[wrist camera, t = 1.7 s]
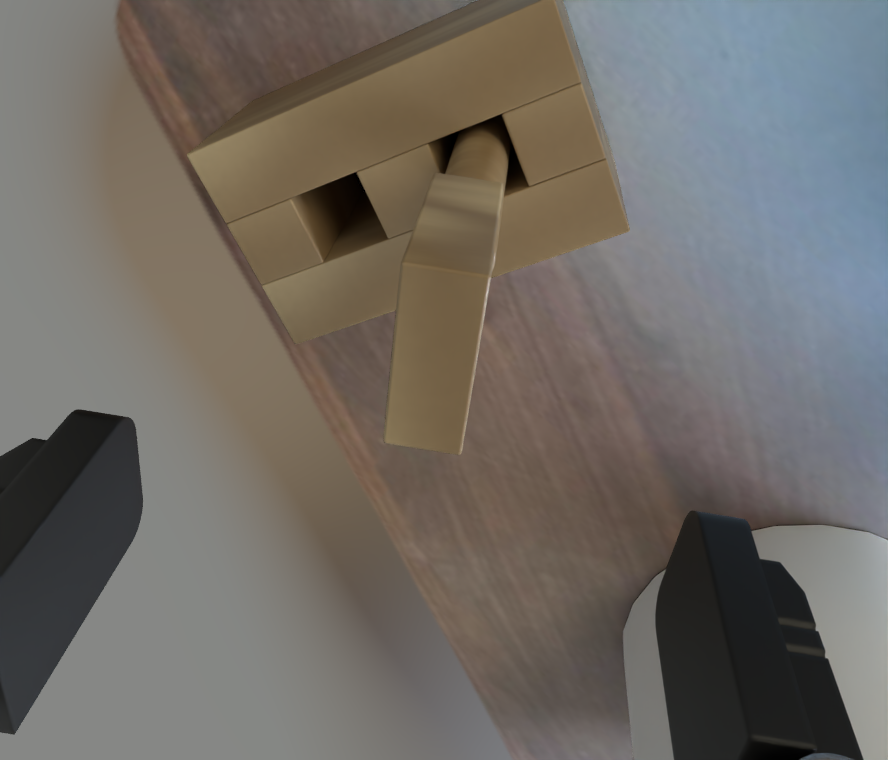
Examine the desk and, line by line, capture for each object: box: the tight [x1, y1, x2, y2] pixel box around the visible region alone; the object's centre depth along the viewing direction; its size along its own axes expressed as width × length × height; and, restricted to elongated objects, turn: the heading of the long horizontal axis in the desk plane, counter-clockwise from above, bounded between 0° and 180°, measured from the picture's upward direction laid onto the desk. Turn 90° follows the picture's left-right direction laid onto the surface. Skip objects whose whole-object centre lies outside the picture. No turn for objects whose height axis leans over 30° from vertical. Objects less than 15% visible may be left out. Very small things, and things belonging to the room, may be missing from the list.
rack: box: [187, 0, 630, 344], centre depth 29 cm, size 7×12×7 cm, turn 113°
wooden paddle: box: [383, 114, 511, 455], centre depth 23 cm, size 2×4×19 cm, turn 173°
